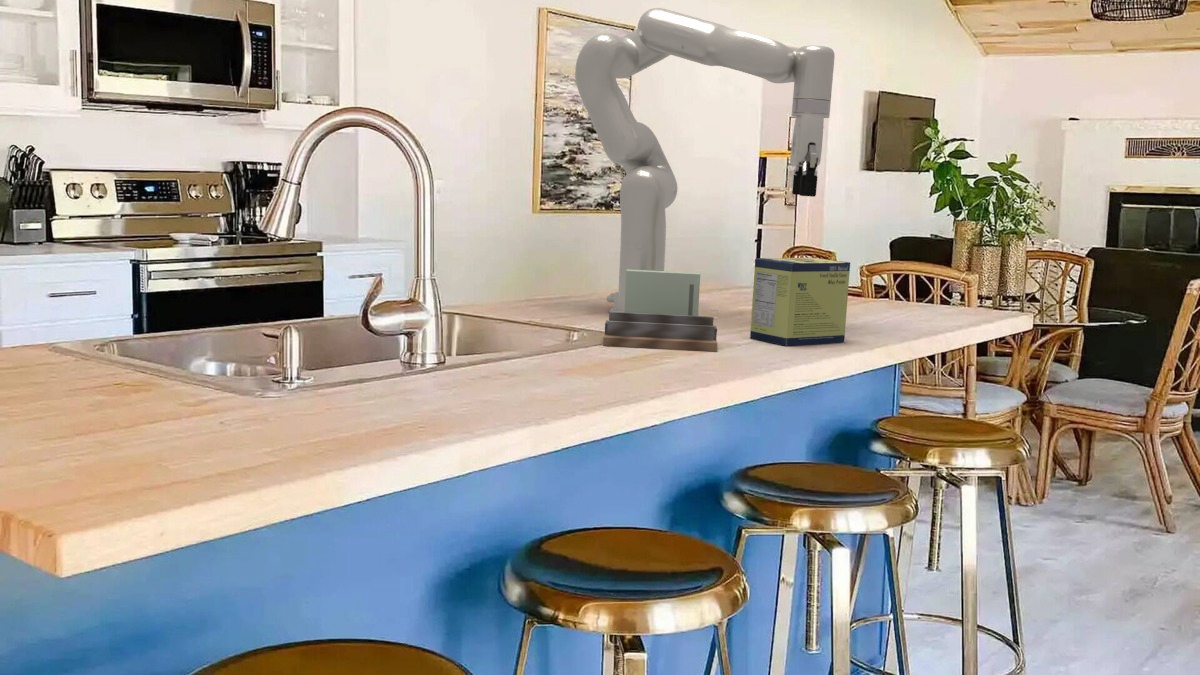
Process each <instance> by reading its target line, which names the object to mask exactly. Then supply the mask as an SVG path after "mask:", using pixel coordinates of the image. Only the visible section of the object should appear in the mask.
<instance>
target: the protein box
mask: <svg viewBox="0 0 1200 675" xmlns="http://www.w3.org/2000/svg"><path fill="white" fill-rule="evenodd" d="M850 268H851V262H848V261H840V260H834V259H826V258H818V257H817V258H816V257H808V256H807V257H758V258H757V257H755V259H754V269H753V270H754V271H753V285H752V286H753V287H752V302H751V305H752V306H751V318H750V320H751V322H750V333H749V334H750V335H749V338H750V339H751V340H752V339H753V340H755V339H756V341H760V342H765V343H766V342H767V343H771V344H774V345H775V344H776V345H781V346H785V347H792V346H794V347H795V346H809V345H810V346H811V345H825V344H840V343H841V344H843V343H845V336H846V324H847V323H846V322H847V309H848V295H849V287H850V286H849V284H850V271H851V270H850Z"/></svg>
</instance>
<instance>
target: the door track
mask: <svg viewBox="0 0 1200 675" xmlns="http://www.w3.org/2000/svg"><path fill="white" fill-rule="evenodd" d="M714 318H715V317H714V316H703V315H698V316H687V315H667V314H646V313H626V312H610V311H609V312H608V320H606V321H605V323H604V335H603V342H602V345H603V347H617V348H618V347H619V348H637V349H639V348H640V349H641V348H642V349H654V350H655V349H659V350H678V351H679V350H681V351H695V352H697V351H699V352H714V353H715V352H716V353H717V351H718V342H717V337H718V336H717V332H718V328H717V325H714Z"/></svg>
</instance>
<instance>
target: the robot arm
mask: <svg viewBox="0 0 1200 675" xmlns="http://www.w3.org/2000/svg"><path fill="white" fill-rule="evenodd" d="M670 56H673V57H677V58H682V59H684V60H687V61H690V62H695V63H697V64H700V65H704V66H708V67H723V68H728V69H731V70H735V71H739V72H742V73H746V74H748V75H752V76H755V77H758V78H762V79H764V80H766V81H768V82H770V83H772V84H789V83H793V91H792V93H793V95H792V103H791V104H792V105H791V117H795V121H794V126H793V130H792V131H793V133H792V141H791V148H790V149H791V151H790V156H789V157H790V158H789V164H790V165H791V166H794V175H793V181H792V191H791V192H792V195H796V196H801V197H816V196H817V188H818V187H817V185H818V177H819V176H818V166H819V165H820V163H821V158H822V153H823V152H822V150H823V139H824V138H823V137H824V126H825V125H824V123H825V119H829V118H830V115H831V114H830V112H831V104H832V102H831V100H832V91H833V90H832V89H833V82H834V81H833V80H834V79H833V78H834V68H835V57H836V56H835V52H834V49H833V48H831V47H829V46H825V45H824V46H823V45H803V46H801V47H799V48H797V47H796V48H795V47H789V46H787V45H785V44H783V43H782V42H780V41H777V40H775V39H770V38H766V37H763V36H760V35H757V34H753V33H749V32H745V31H742V30H738V29H734V28H730V27H728V26H726V25H723V24H720V23H716V22H713V21H709V20H705V19H701V18H700V17H699V18H698V17H695V16H692V15H687V14H684V13H681V12H677V11H675V10H670V9H668V8H667V9H666V8H663V7H653V8H650V9H648V10H646V11H645V12H644V13H643V14H642V15H641V16H640V17H639V21H638V23H637V28H636V29H635V30H632V31H631V32H629V33H627V34H625V35H623V36H622V37H621V36H619V35H617V34H615V33H614V34H613V33H609V32H605V33H603V32H602V33H598V34H596V35H594V36H592V37H591V38H589V40H588V41H586V43H585V44H584V45H583V46H582V48H581V49H580V51H579V54H578V56H577V59H576V62H575V69H574V70H575V72H574V73H575V74H574V76H575V83H576V84H575V85H576V87H577V91H578V93H579V95H580V98H581V101H582V103H583V105H584V107H585V110H586V112H587V114H588V117H589V118H590V121H591V124H592V125H593V128H594V130H595V132H596V135H597V137H598V138H599V141H600V143H601V146H602V147H603V151H604V153H605V155H606V156H607V158H608V159H609V160H610V161H611V162H612V163H614V164H616V165H620V166H622V168H623V169H624V171H625V174H626V175H625V177H624V178H623V180H622V182H621V185H620V190H619V203H620V205H619V206H620V247H619V248H620V251H619V272H618V291H617V292H611V293H610V295H607V296H606V298H605V299H606V302H608V303H614V304H613V307H611V308H610V311H609V312H624V310H625V289H626V270H627V269H628V270H649V271H665V261H666V260H665V259H666V240H667V238H666V235H667V221H666V218H667V216H666V209H667V208H669V207H670V206H671V205H673V203H674V201H675V200H676V198H677V195H678V182H677V178H676V176H675V174H674V172H673V170H672V168H671V165H670V163H669V162H668V160H667V157H666V155H665V153H664V150H663V149H662V146H661V144H660V142H659V140H658V138H657V136H656V135H655V133H654V131H652V129H651V128H650V127H649V126H648V125H646V124H644V123H643V122H640V121H638V120H637V119H636V118H635V115H634V114H633V112H632V110H631V108H630V106H629V104H628V101H627V98H626V97H625V95H624V93H623V91H622V89H621V88H620V86H619V84H618V82H617V79H627V78H628V77H632V76H634V75H636V74H638V73H640V72H642V71H643V70H645V69H647V68H649V67H651V66H653V65H655V64H657V63H659V62H661V61H663V60H664V59H666V58H669V57H670Z"/></svg>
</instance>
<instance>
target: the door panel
mask: <svg viewBox="0 0 1200 675" xmlns="http://www.w3.org/2000/svg"><path fill="white" fill-rule="evenodd" d="M700 284H701V272H688V271H685V272H684V271H665V270H664V271H649V270H628V269H627V270H626V289H625V310H624V312H626V313H646V314H667V315H687V316H699V307H700V306H699V305H700V304H699V303H700V289H701V288H700V286H701V285H700Z"/></svg>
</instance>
